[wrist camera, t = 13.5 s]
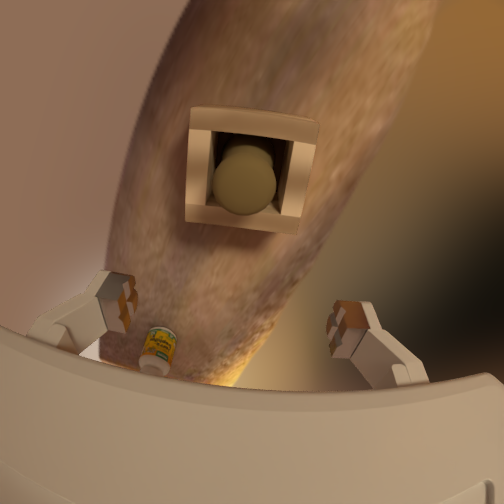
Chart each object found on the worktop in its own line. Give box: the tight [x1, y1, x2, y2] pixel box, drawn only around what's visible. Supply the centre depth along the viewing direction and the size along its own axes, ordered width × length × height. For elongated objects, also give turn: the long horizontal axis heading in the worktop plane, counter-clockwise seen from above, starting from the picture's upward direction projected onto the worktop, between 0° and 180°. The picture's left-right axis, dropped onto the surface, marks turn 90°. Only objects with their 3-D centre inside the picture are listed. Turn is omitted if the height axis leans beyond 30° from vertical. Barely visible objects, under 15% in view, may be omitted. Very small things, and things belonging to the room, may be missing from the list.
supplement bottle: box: [139, 327, 177, 377], centre depth 43 cm, size 5×5×10 cm
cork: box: [212, 133, 276, 216], centre depth 26 cm, size 6×6×11 cm
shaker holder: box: [185, 104, 320, 235], centre depth 28 cm, size 11×11×6 cm
